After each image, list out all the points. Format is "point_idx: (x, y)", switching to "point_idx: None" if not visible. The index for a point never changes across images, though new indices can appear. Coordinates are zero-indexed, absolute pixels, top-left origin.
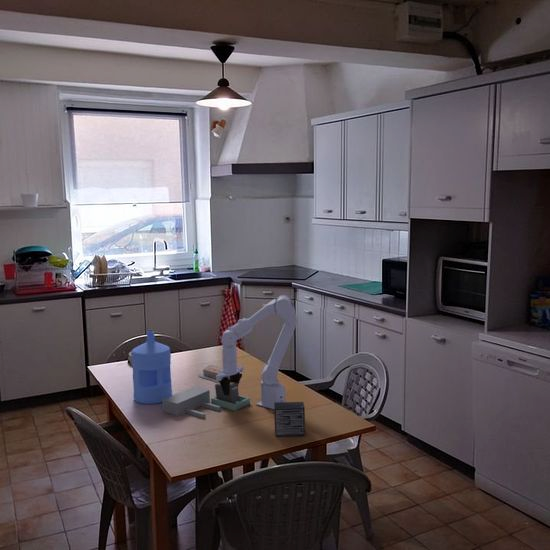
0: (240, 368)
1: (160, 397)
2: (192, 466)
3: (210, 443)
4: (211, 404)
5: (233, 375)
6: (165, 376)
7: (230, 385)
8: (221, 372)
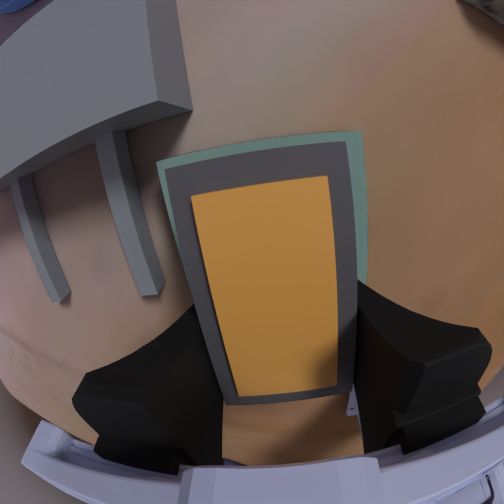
0: (467, 486)
1: (7, 5)
2: (30, 405)
3: (59, 398)
4: (126, 225)
5: (384, 426)
6: None
7: (244, 399)
8: (120, 499)
